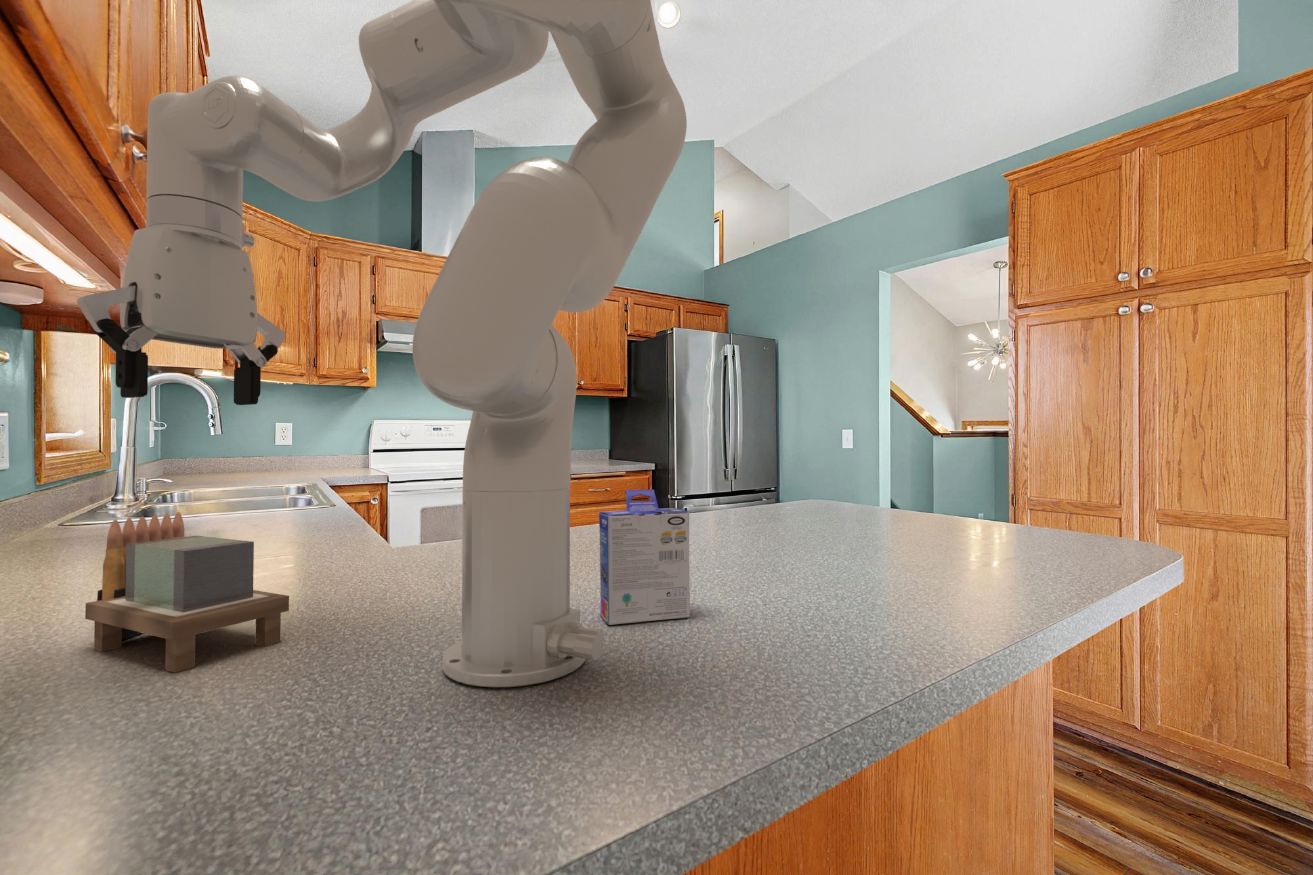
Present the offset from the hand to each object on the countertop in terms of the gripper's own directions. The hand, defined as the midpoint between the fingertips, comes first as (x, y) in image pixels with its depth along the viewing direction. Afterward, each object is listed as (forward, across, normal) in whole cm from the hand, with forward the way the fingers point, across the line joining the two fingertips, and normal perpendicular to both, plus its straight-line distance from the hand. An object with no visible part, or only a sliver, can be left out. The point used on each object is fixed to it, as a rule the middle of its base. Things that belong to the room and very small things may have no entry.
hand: (194, 401), depth 58 cm
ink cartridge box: (+24, -28, +36) cm, 52 cm away
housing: (+20, 0, 0) cm, 20 cm away
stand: (+24, 0, 0) cm, 24 cm away
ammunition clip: (+24, -1, -11) cm, 26 cm away
